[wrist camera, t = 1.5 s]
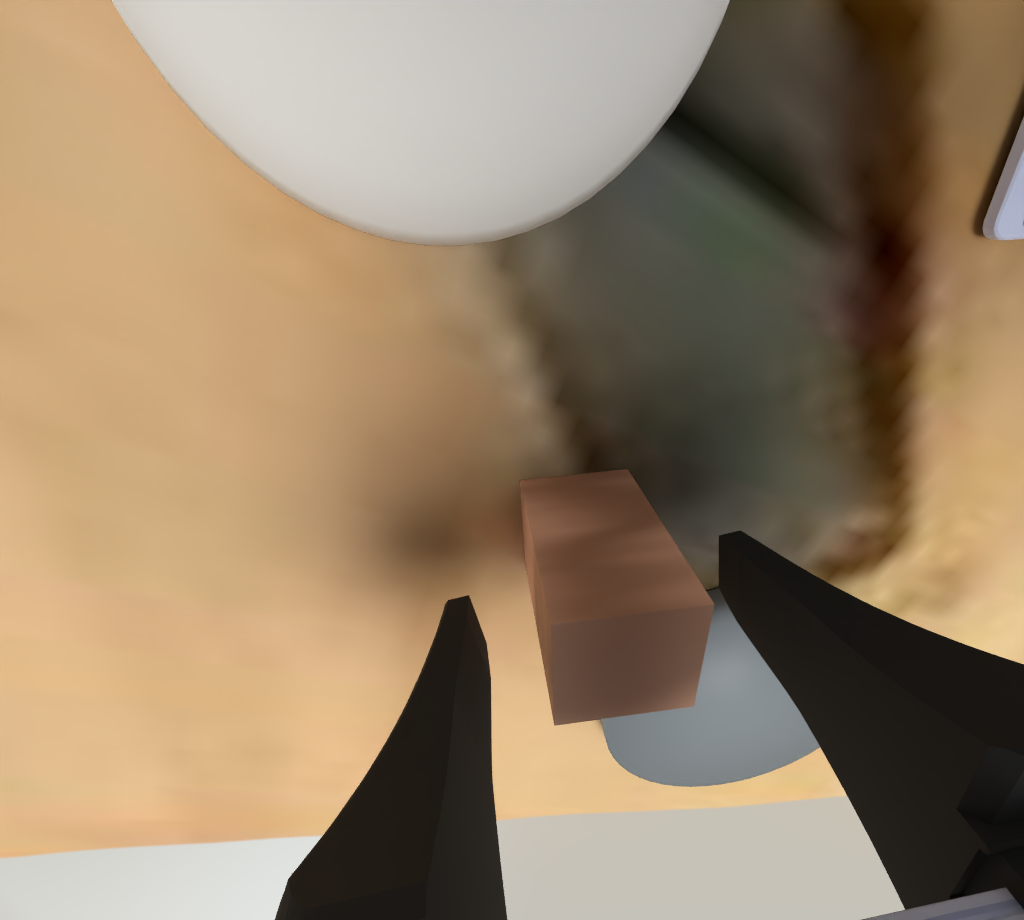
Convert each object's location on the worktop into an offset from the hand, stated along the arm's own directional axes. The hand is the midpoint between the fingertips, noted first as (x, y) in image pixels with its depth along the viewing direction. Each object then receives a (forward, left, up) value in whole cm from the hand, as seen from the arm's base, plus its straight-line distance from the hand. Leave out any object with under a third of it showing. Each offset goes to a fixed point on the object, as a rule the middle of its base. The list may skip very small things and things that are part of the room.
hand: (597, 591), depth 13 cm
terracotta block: (0, 0, -3) cm, 3 cm away
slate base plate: (-7, +10, -3) cm, 13 cm away
